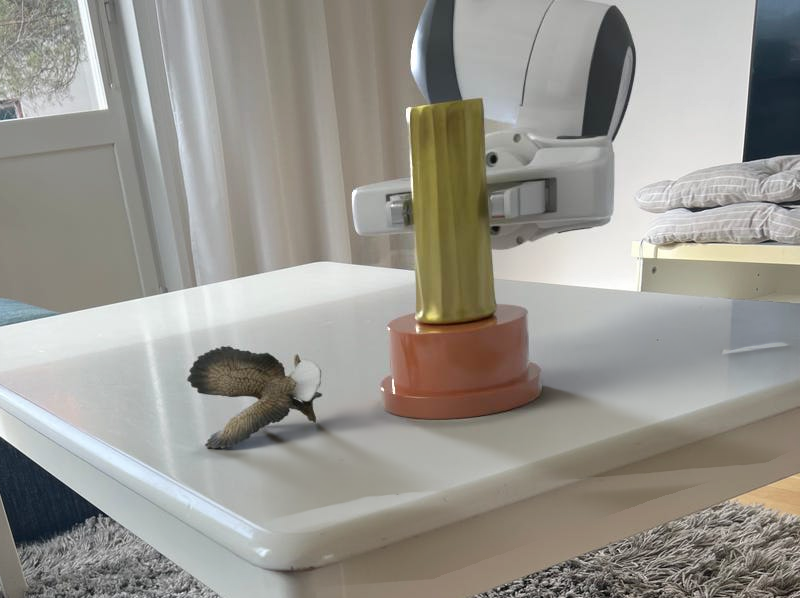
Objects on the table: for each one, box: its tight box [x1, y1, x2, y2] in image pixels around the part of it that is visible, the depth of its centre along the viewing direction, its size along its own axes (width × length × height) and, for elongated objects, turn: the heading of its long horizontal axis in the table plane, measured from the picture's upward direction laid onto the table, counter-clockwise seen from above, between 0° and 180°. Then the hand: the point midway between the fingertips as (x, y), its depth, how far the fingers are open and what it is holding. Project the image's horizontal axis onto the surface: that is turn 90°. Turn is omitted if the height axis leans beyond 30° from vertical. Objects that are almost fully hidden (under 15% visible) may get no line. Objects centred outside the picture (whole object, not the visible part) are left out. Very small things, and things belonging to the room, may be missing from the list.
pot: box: [379, 303, 543, 420], centre depth 75 cm, size 12×12×6 cm
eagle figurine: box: [186, 345, 323, 449], centre depth 72 cm, size 8×7×9 cm
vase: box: [406, 98, 497, 324], centre depth 70 cm, size 6×6×14 cm
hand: (446, 210), depth 69 cm, fingers open, 7 cm apart
